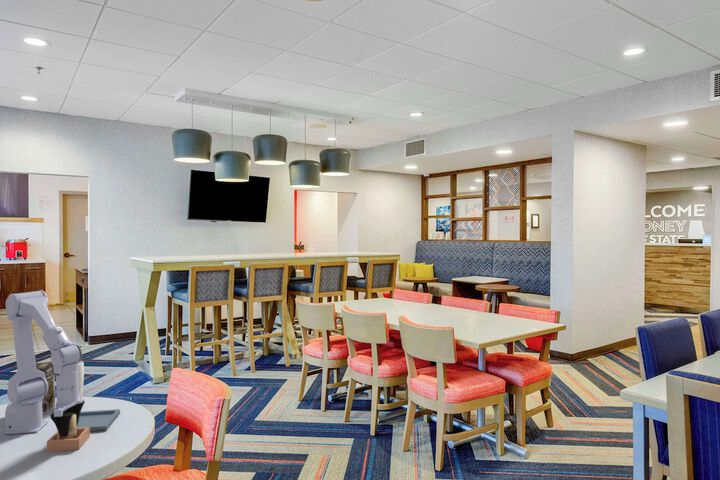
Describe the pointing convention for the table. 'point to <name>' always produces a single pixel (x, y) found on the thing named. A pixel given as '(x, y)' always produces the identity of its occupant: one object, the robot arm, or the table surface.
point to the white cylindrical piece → (81, 377)
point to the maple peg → (72, 429)
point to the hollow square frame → (68, 441)
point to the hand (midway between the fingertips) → (68, 431)
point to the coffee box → (50, 377)
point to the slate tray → (97, 419)
